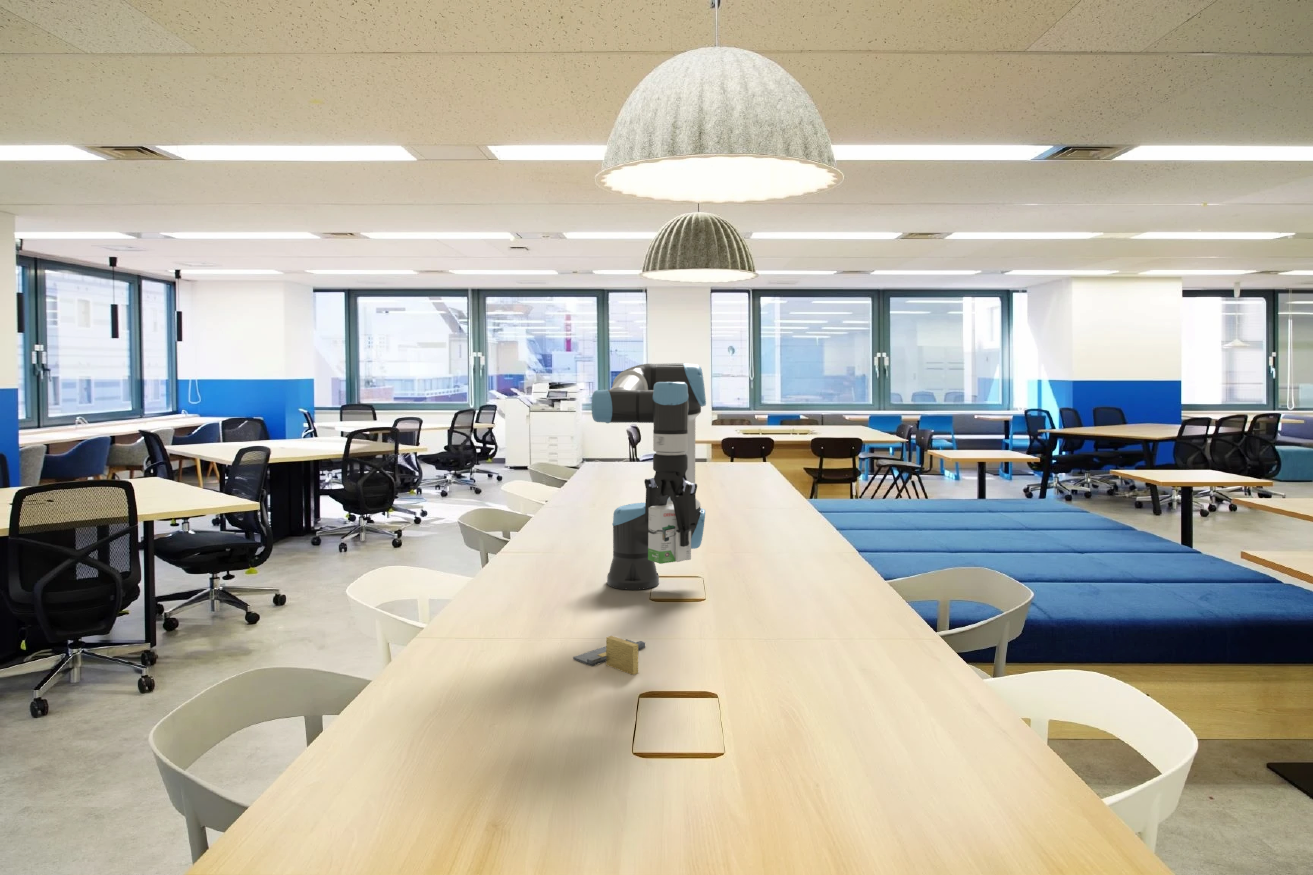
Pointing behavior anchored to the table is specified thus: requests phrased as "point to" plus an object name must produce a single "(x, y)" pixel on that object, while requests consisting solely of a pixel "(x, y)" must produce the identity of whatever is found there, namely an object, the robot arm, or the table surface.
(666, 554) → the ink box
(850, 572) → the table surface
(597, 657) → the rail
